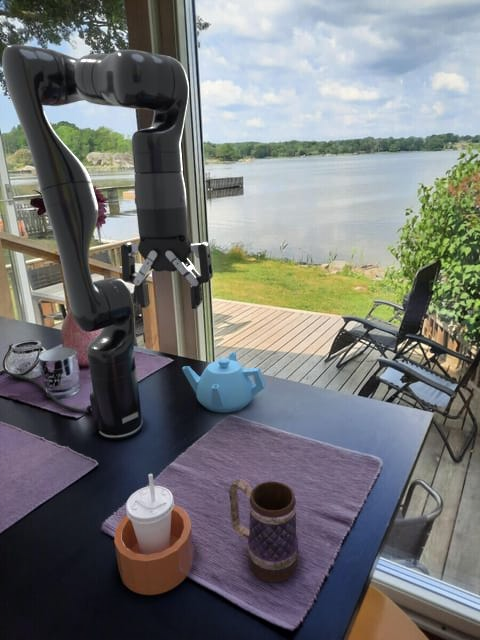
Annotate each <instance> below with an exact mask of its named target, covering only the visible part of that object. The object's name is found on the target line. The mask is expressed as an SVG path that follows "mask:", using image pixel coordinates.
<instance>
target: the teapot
mask: <svg viewBox="0 0 480 640" xmlns="http://www.w3.org/2000/svg"><path fill="white" fill-rule="evenodd" d="M181 371H182V372H183V374H184V375H185V378H186V380H187V381H188V383H189V384H190V386H191V388H192V390H193V391H194V393H195V395H196V399H197V401H198V403H199V404H200V405H202V407H204V408H205V409H207V410H208V411H211V412H216V413H233V412H238V411H240V410H242V409H244V408H245V407H247V406H248V405H249V404H250V402H251V401H252V400H253V398H254V397H255V396H256V395H257V394H259V393H260V392H262V391H263V390H265V388H266V382H265V379H264V377H263V374H262V371H261V369H260V367H251V368H249V367H248V368H245V367H244V366H243V365H242V364H241V363H240V362H239V361H237V352H235V351H231V352H230V353H229V357H228V358H227V357H222V358H221V357H220V358H219V359H218V360H214V361H212V362H210V363H209V364H208V365H207V366H206V367H205V368H204V370H203V371H202V373H201V375H198V374H197V372H195V371H194V370H193V369H192V368H191V366H190V365H188V366H187V365H185V366H183V367H181ZM251 376H252V377H253V380H254V383H253V380H252V378H251Z"/></svg>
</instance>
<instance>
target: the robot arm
mask: <svg viewBox="0 0 480 640" xmlns="http://www.w3.org/2000/svg"><path fill="white" fill-rule="evenodd" d="M1 64H2V72H3V77H4V81H5V85H6V88H7V91H8V94H9V97H10V100H11V102H12V105H13V108H14V110H15V113H16V116H17V118H18V121H19V123H20V126H21V129H22V132H23V134H24V137H25V140H26V143H27V146H28V149H29V152H30V156H31V160H32V164H33V166H34V170H35V174H36V177H37V182H38V186H39V191H40V193H41V196H42V197H41V198H42V200H43V204H44V207H45V211H46V213H47V217H48V220H49V223H50V226H51V229H52V233H53V237H54V240H55V243H56V247H57V251H58V255H59V260H60V265H61V269H62V274H63V279H64V284H65V290H66V295H67V300H68V304H69V308H70V312H71V314H72V317H73V320H74V321H75V323H76V325H77V326H78V327H79V328H80V330H82V331H83V332H87V333H92V332H96V331H99V330H101V331H100V333H99V334H98V335H97V336H96V337H95V338H94V339H93V340H91V342H90V343H89V344H88V345H87V347H86V354H87V361H88V368H89V374H90V380H91V388H92V392H91V393H89V400H90V404H89V405H88V406H87V407H86V410H84V409H79V408H76V407H72V406H69V405H67V404H65V403H63V402H61V401H60V400H59V399H57V398H56V397H55V396H54V395H53V394H52V393H51V392H50V393H51V394H50V393H47V392H46V390H45V388H46V387H45V386H44V385H43V384H42V383H40V382H39V381H37V380H35V379H33V378H30V377H28V376H24V375H21V374H16V373H14V374H8V373H7V372H6V371H5V370H6V369H2V370H1V371H0V375H3V374H6V375H8V376H11V377H13V378H17V379H21V380H24V381H27V382H30V383H32V384H34V385H36V386H37V387H39V388H40V389H41V390H42V391H44V393H46V395H47V396H48V397H49V398H50V399H51V400H52V401H54V402H55V403H56V404H57V405H58V406H59V407H60V408H62V409H66V410H68V411H70V412H74V413H78V414H83V415H84V414H86V415H89V414H91V415H92V422H93V426H94V433H95V435H97V436H98V435H99V436H100V437H101V438H103V439H104V440H108V441H122V440H126V439H129V438H131V437H134V436H136V435H137V434H139V432H141V431H142V429H143V427H144V421H143V415H142V407H141V406H142V405H141V398H140V390H139V381H138V373H137V365H136V364H137V363H136V356H135V344H136V337H137V336H136V321H135V320H136V319H135V318H136V317H135V307H134V300H133V295H132V293H131V290H130V287H129V286H128V284H127V282H129V283H131V284H133V285H134V287H135V292H136V302H137V304H138V305H140V307H141V308H143V309H146V308H148V307H149V306H150V303H151V300H150V290H149V283H148V282H146V281H147V280H148V278H149V277H150V275H151V273H152V272H153V271H155V272H164V271H165V272H170V273H172V272H173V273H175V272H176V271H178V272H179V273H180V274H181V276H182V277H184V278H185V279H186V280H187V281H188V283H189V284H190V286H189V291H190V304H191V305H190V306H191V309H192V310H196V309H198V308H199V307H200V305H201V304H202V302H203V300H204V299H203V284H205V283H207V284H208V283H209V281H211V280H212V279H213V277H214V273H213V265H212V264H213V263H212V256H211V255H212V253H211V246H210V245H211V244H210V243H209V242H208V241H203V242H202V243H191V241H190V237H189V222H188V206H187V194H186V193H187V192H186V191H187V190H186V185H185V179H184V174H183V159H182V158H183V157H182V147H181V143H182V137H183V131H184V126H185V119H186V114H187V107H188V102H189V95H190V94H189V93H190V86H189V80H188V76H187V73H186V70H185V68H184V67H183V65H182V63H181V62H180V61H178V60H177V59H176V58H174V57H171V56H168V55H164V54H158V53H154V52H153V53H152V52H147V51H142V50H138V49H119V50H116V51H114V52H111V53H91V54H86V55H84V56H81V57H80V58H76V57H73V56H70V55H67V54H65V53H63V52H60V51H58V50H55V49H51V48H45V47H37V46H33V45H24V44H9V45H7V46H6V47H5V48H4V50H3V52H2V57H1ZM81 101H86V102H88V103H90V104H93V105H99V106H108V107H120V108H125V109H131V110H132V109H133V110H141V111H144V110H145V111H153V118H152V122H151V125H150V126H149V127H146V128H142V129H138V130H136V131H135V132H133V134H132V137H131V153H132V162H133V172H134V204H135V208H136V219H137V228H138V235H139V243H133V242H132V241H129V242H125V243H123V244H121V245H120V259H121V260H120V261H121V277H122V279H121V278H120V277H115V276H114V277H113V276H112V277H107V278H103V279H99V280H95V281H93V278H92V274H91V268H90V259H89V258H90V248H91V243H92V240H93V237H94V234H95V230H96V226H97V222H98V217H99V205H98V200H97V197H96V194H95V190H94V186H93V182H92V179H91V176H90V173H89V171H88V170H87V168H86V167H85V166H84V164H83V163H82V161H80V160H79V158H78V157H77V156H76V155H75V154H74V153H73V151H72V150H71V149H70V148H69V147H68V146H67V145H66V143H64V141H63V140H62V139H61V138H60V137H59V135H58V133H56V131H55V129H54V128H53V126H52V125H51V122H50V121H49V118H48V116H47V113H46V111H45V109H44V107H43V106H45V107H48V106H49V107H60V106H65V105H69V104H73V103H74V104H75V103H77V102H81ZM192 252H193V253H194V256H195V257H196V258H197V259H199V267H200V268H199V269H200V273H199V271H197V270H196V268H195V265H194V264H193V263H192V261H190V259H189V257H190V255H191V253H192ZM138 253H139V254H140V255H141V257H142V259H144V261H143V263H142V265H141V267H140V268H139V270H138V272H137V273H136V257H137V256H138Z"/></svg>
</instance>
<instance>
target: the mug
mask: <svg viewBox="0 0 480 640" xmlns="http://www.w3.org/2000/svg"><path fill="white" fill-rule="evenodd" d="M238 490H240V491H242V492H243V493H244V496H245V498H246V499H248V501H249V505H248V506H249V508H248V510H249V523H248V524H249V525H248V526H249V527H245V526H244V525H243V524H242V523H241V520H240V511H239V510H240V509H239V497H238ZM228 497H229V504H230V521H231V522H230V523H231V527H232V529H233V531H234V532H236V533H237V535H239V536H240V537H242V538H244V539H245V540H247V554H248V565H249V569H250V571H251V572H252V574H253V575H254V576H255V577H257V578H259V579H260V580H262V581H265V582H268V583H280V582H284V581H286V580H288V579H289V578H291V577H292V576H293V575H294V573H295V572H296V571H297V567H298V555H299V538H298V536H297V513H296V512H297V502H296V497H295V493H294V491H293V489H292V488H291V487H290V486H289V485H287V484H285V483H283V482H279V481H274V480H271V481H269V480H268V481H263V482H261V483H259V484H257V485H256V486H255V487H253V489H252V487H251V484H249V482H248V481H247V480H245V479H243V478H240V479H235V480H232V483H231V485H230V487H229V489H228Z"/></svg>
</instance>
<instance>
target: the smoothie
mask: <svg viewBox="0 0 480 640" xmlns="http://www.w3.org/2000/svg"><path fill="white" fill-rule="evenodd" d="M147 476H148V484H149V486H144V487H142V488H139V489H137V490H136V491H134V492H133V493H132V494H131V495H130V496H129V497H128V499H127V500H126V504H125V509H126V511H125V512H126V515H127V516H128V518H129V519H130V520H131V521H132V525H133V528H134V531H135V534H136V538H137V541H138V544H139V547H140V551H141V554H146V555H149V554H154V553H159V552H162V551H164V550H166V549H168V548H169V547H170V530H171V511H172V510H173V506H174V505H175V501H174V496H173V494H172V492H171V490H169V489H168V488H166V487H164V486H159V485H155V483H154V476H153V473H149V474H148V475H147Z"/></svg>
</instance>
